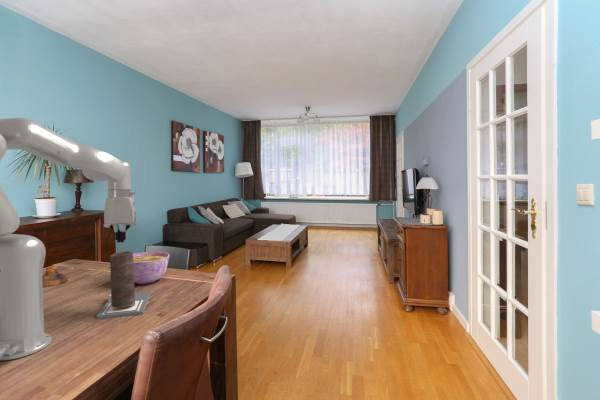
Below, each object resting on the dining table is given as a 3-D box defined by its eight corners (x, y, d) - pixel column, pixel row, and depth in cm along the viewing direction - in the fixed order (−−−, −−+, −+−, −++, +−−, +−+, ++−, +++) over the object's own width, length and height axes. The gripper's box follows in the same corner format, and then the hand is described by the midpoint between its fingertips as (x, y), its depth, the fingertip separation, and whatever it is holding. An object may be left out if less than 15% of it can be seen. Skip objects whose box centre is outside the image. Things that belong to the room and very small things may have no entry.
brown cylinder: (124, 312, 105) (122, 255, 104) (105, 310, 106) (104, 253, 105) (139, 303, 112) (138, 250, 111) (122, 301, 114) (121, 249, 113)
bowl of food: (179, 279, 145) (178, 255, 144) (138, 291, 127) (137, 264, 127) (153, 272, 155) (152, 249, 154) (112, 283, 138) (111, 258, 137)
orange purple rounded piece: (63, 285, 134) (62, 269, 134) (28, 289, 130) (28, 272, 129) (71, 278, 145) (71, 263, 144) (40, 280, 140) (39, 265, 140)
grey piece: (142, 313, 107) (142, 304, 106) (96, 319, 102) (96, 309, 102) (150, 293, 125) (150, 285, 125) (111, 297, 121) (111, 289, 121)
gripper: (143, 193, 122) (144, 239, 123) (99, 193, 117) (100, 241, 118) (140, 194, 115) (141, 242, 116) (93, 194, 110) (94, 245, 111)
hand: (120, 241), depth 117 cm, fingers closed
